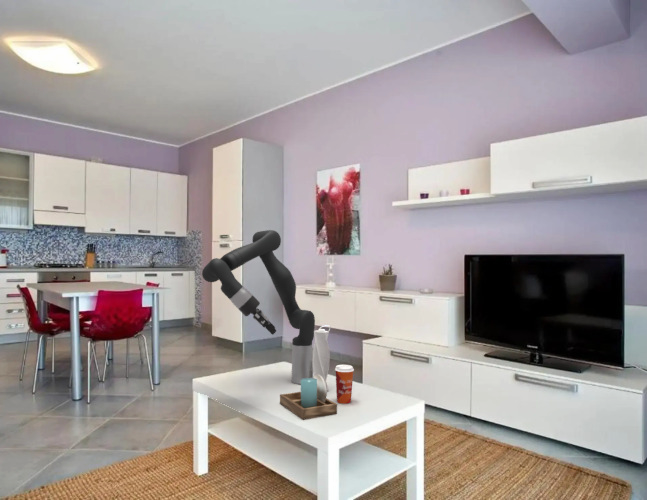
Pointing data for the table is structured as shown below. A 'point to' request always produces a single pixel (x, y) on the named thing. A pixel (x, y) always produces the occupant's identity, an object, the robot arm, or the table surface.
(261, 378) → the table surface
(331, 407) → the tray
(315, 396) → the teal dome-topped cylinder
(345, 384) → the paper cup
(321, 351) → the skyscraper
